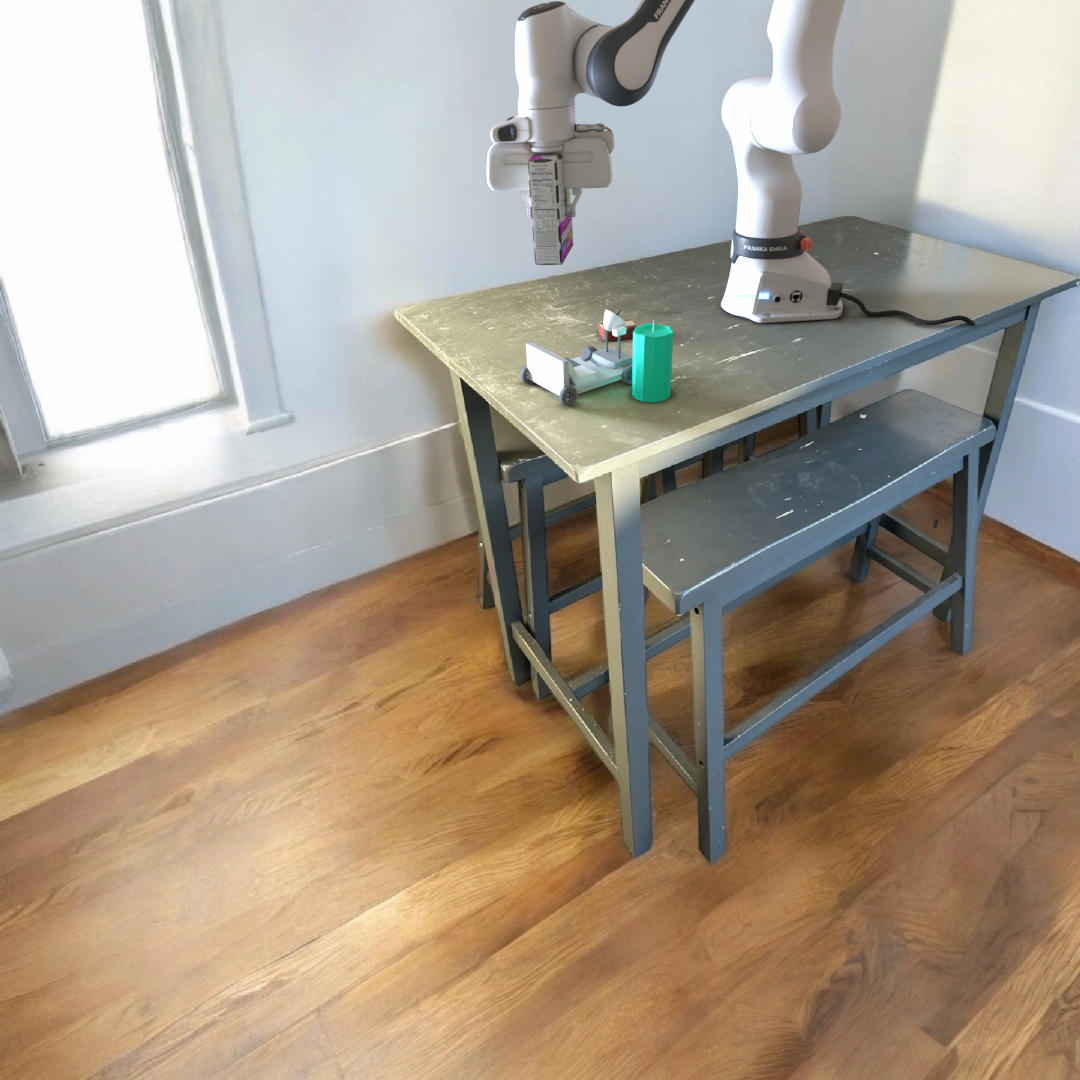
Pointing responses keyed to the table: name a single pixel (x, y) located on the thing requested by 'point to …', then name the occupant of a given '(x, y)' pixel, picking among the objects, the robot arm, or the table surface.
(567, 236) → the candy bar box
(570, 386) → the toy car
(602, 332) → the matchbox
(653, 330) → the candle
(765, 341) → the table surface
